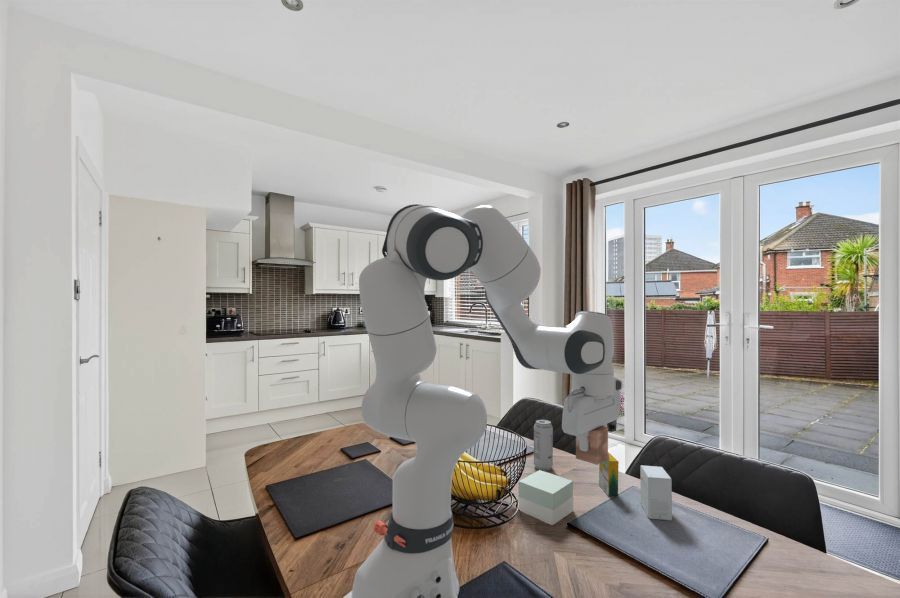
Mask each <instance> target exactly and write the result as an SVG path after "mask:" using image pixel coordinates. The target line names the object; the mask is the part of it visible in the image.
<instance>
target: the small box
mask: <svg viewBox="0 0 900 598" xmlns="http://www.w3.org/2000/svg"><path fill="white" fill-rule="evenodd" d="M639 469H640V504H641V507H642V508H643V511H644V510H645V511H644V512H646V513H645V514H646V516H647V518H648V519H649V520H650V519H651V520H660V521H661V520H663V521H672V520H673V504H672V503H673V499H672V498H673V493H672V491H673V489H672V488H673V487H672V485H673V484H672V483H673V482H672V480H673V479H672V477H671V476H670V475H669V473H667V471H666V470H665V469H664V467H663V466H657V465H655V466H654V465H652V466H651V465H640V467H639Z"/></svg>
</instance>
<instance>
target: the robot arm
mask: <svg viewBox="0 0 900 598" xmlns="http://www.w3.org/2000/svg"><path fill="white" fill-rule="evenodd" d="M381 253H382V255H383V257H382V258H379V259H376V260H374V261H372V262H371V263H369V264H368V265H366V266H365V267H364V268H362V269H363V270H361V272H360V275H359V277H358V289H359V300H360V305H361V312H362V317H363V321H364V325H365V329H366V331H367V336H368V338H369V343H370V346H371V349H372V353H373V358H374V361H375V363H374V364H375V368H376V370H375V372H376V374H375V379H374V382H373V383H372V384H371V385H370V386H369V387H368V388H367V390H366V391H365V393H364V395H363V398H362V401H361V416H362V419H363V422H364V424H365V425H366V426H367V427H368V428H370V429H372V430H373V431H376V432H377V433H380V434H383V435H384V436H386V437H390V438H395V439H400V440H404V441H405V440H406V441H411V442H414V443H415V445H416V453H415V456H413V457H411V458H409V459H406V460H405V461H404V462H402V463H401V464H400V465H399V466H398V467H397V469H396V470H395V472H394V474H393V476H392V511H391V513H390V516H389V519H388V521H387V524H386V523H384V522H383V521H382V520H377V521H376V522H375V523H374V525H373V531H374V532H375V533H377V534H378V535H379V536H383V537H384V538H383V539H382V540H381V541H380V542H379V543H378V544H377V545H376V547H375V548H374V549H373V550H372V552H371V553H370V554H369V556H368V557H367V558H366V559H365V561H363V562H362V564H361V565H360V566H359V568H358V569H357V570H356V573H355V575H354V578H353V584H352V590H350V591H349V592H348V593H347V594H346V595H344V596H343V597H342V598H458V596H459V593H460V583H459V580H458V576H457V573H456V572H457V571H456V568H455V562H454V561H455V560H454V555H453V554H454V553H453V541H452V537H453V534H454V515H453V514H454V513H453V511H452V508H451V505H452V504H451V503H452V484H453V483H452V482H453V474H454V471H455V468H456V465H457V463H458V461H459V460H460V458H461V457H462V456H463V455H464V453H465V452H466V451H468V450H470V449H471V448H473V447H474V446H475V445H477V444H478V443H479V441H481V439H482V437H483V436H484V433H485V432H486V428H487V423H488V412H487V408H486V404H485V403H484V401H483V399H482V398H481V396H480V395H479V394H477V393H476V392H472V391H470V390H468V389H465V388H461V387H459V386H453V385H447V384H438V383H429V382H426V381H423V379H422V378H421V376H420V375H421V373H424V371H426V370H427V369H428V368H429V367H430V366H431V365H432V364H433V363H434V360H435V358H436V355H437V350H438V349H437V347H438V346H437V343H436V338H435V335H434V330H433V326H432V322H431V317H430V312H429V309H428V306H427V301H426V299H425V297H426V296H425V287H426V284H427V283H426V281H427V279H429V280H434V281H447V280H451V279H453V278H454V279H455V277H458V276H460V275H462V274H463V273H464V272H465V271H466V270H468V269H470V270H471V272H472V273H473V275H474V276H475V277H476V279H477V280H478V281H479V283H480V284H481V285H482V287H483V288H484V297H485V299H486V302H487V305H488V307H489V309H490V310H491V311H492V313H493V315H494V317H495V318H496V320H497V322H498V324H500V327H501V328H502V329H503V331H504V332H505V334H506V336H507V337H508V339H509V341H510V343H511V346H512V348H513V351H514V355H515V357H516V359H517V361H518V362H519V364H520V365H521V366H522V367H523V368H526V369H529V370H539V371H540V370H544V371H550V372H554V373H555V372H556V373H562V374H567V375H571V390H570V391H569V394H568V395H567V396H566V398H565V399H564V403H563V408H562V417H561V429H562V431H563V433H564V434H567V435H570V436H575V437H576V436H577V438H578V440H579V448H580V450H581V451H585V452H586V451H588V450H590V442H588V438H587V436H588V434H589V431H591V430H593V429H596V428H598V427H600V426H604V427H608V424H609V423H611V422H612V423H613V422H615V421H616V420H618V419H619V416H620V413H621V400H622V397H621V390H622V389H623V381H622V379H619V378H617V377H615V374H614V373H615V372H614V371H615V370H614V367H613V358H614V354H615V340H614V339H615V338H614V336H615V335H614V329H613V324H612V323H613V322H612V319H611V317H610V316H608V314H606V313H602V312H599V311H588V310H587V311H586V310H584V311H582V310H581V311H578V312H576V313H575V316H574V319H573V321H571V322H570V323H569V324H567V325H565V326H545V325H540V324H539V323H538V324H537V323H536V322H533V321H532V320H531V319H530V317H529V315H528V314H527V312H526V311H525V309H524V307H523V305H522V303H523V302H525V300H527V299H528V298H529V297H530V296H531V295H532V294H533V292H534V291H535V290H536V289H537V287H538V284H539V282H540V280H541V279H540V278H541V274H542V273H541V265H540V262H539V260H538V258H537V256H536V254H535V253H534V251H533V250H532V248H531V247H530V246H529V244H528V242H527V241H526V240H525V238H524V237H523V236H522V234H521V233H520V232H519V231H518V229H517V228H516V227H515V226H514V224H512V222H511V221H510V220H509V219H508V218H507V217H506V215H504V214H503V213H501V212H500V211H499V209H497V208H496V207H495V206H494V207H493V206H491V205H478V206H476V207H473V208H470V209H468V211H466V212H465V213H464V214H463V215H462V216H460V215H457V214H455V213H453V212H449V211H445V210H443V209H441V208H439V207H436V206H432V205H425V204H409V205H406V206H404V207H402V208H400V209H399V210H397V211H396V212H395V213H394V214H393V216H391V219H390V221H389V224H388V225H387V229H386V235H385V238H384V242H383V245H382V249H381Z"/></svg>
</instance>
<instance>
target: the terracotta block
mask: <svg viewBox="0 0 900 598" xmlns="http://www.w3.org/2000/svg"><path fill="white" fill-rule="evenodd" d="M587 438H588V442H590V450H588V451H586V452H585V451H581V450H580V448H579V440H578V438H577V436H575V460H576V459H577V460H580V461H583V462H587V463H590V464H593V465H596V466H597V465H598V466H599V464H600V463H602V462H603V461H605V460H607V459H608V452H609V427H608V426H607V427H604V426H600V427H598V428H596V429H593V430H591V431H589V434H588V436H587Z"/></svg>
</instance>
